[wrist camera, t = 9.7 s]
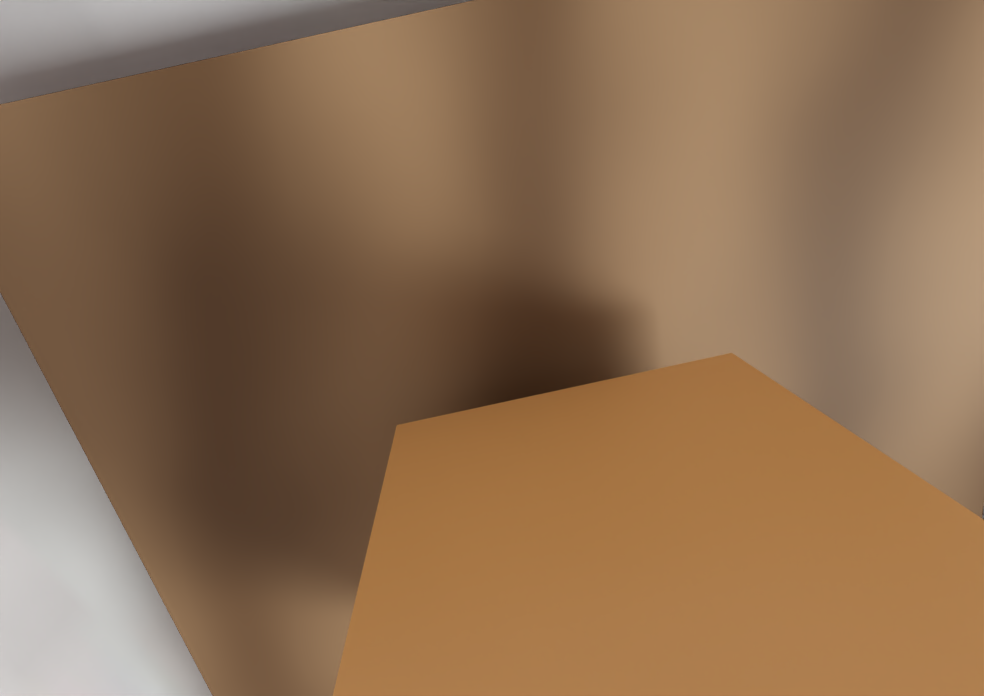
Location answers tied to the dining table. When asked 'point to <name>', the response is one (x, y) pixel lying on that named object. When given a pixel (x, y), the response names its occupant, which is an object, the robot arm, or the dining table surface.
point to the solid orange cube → (662, 552)
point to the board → (483, 262)
